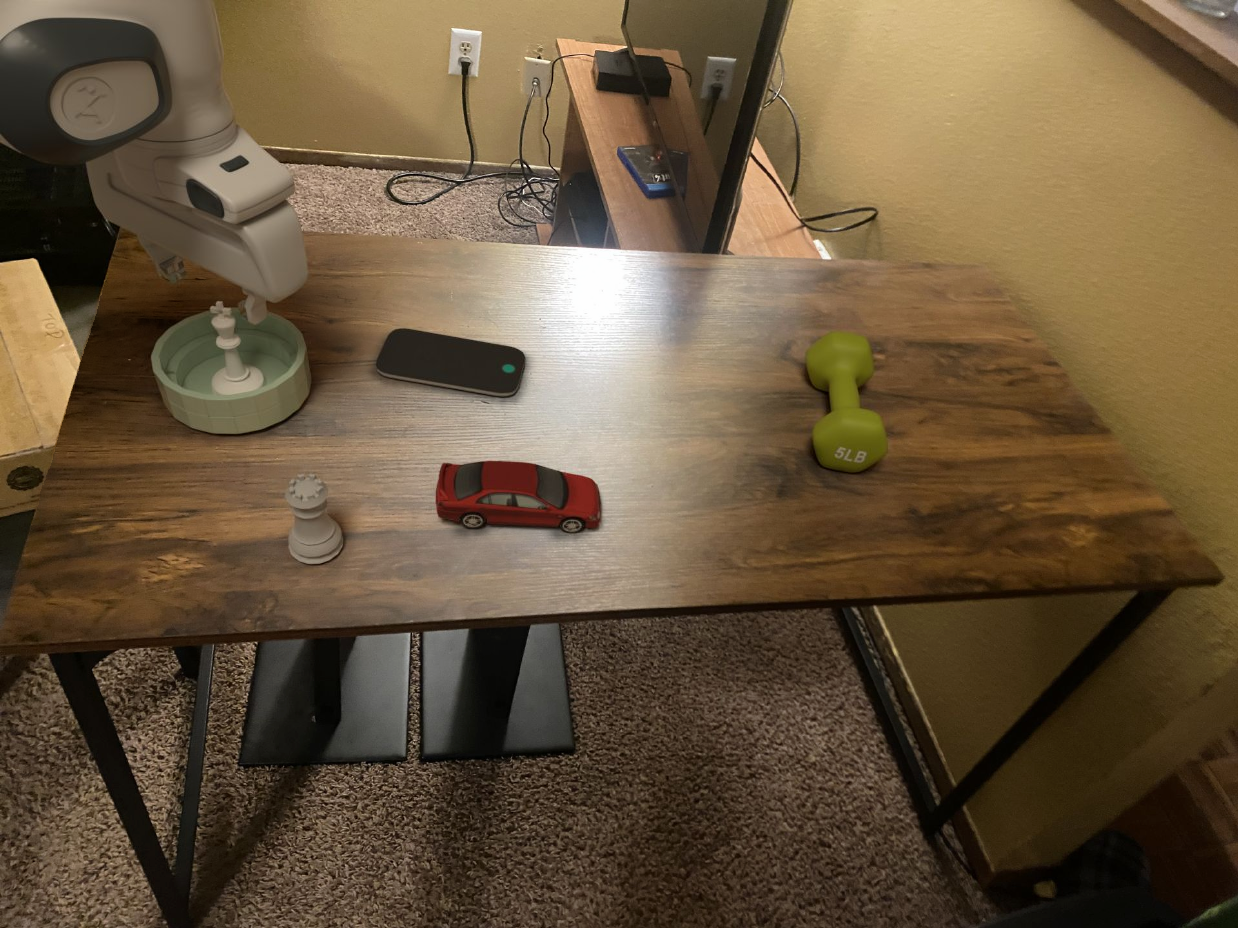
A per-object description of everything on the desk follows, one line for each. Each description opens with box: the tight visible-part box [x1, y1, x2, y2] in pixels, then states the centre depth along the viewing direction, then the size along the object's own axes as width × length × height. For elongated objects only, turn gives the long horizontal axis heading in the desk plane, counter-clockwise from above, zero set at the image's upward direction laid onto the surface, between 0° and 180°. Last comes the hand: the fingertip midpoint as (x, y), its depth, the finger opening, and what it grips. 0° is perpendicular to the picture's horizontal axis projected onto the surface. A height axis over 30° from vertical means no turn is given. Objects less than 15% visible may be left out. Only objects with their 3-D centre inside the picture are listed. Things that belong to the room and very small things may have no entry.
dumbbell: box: [804, 330, 889, 473], centre depth 90 cm, size 16×8×7 cm, turn 174°
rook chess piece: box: [284, 473, 344, 565], centre depth 69 cm, size 4×4×8 cm
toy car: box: [435, 460, 602, 534], centre depth 76 cm, size 6×15×5 cm, turn 91°
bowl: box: [150, 306, 312, 435], centre depth 81 cm, size 13×13×5 cm
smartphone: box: [375, 327, 526, 398], centre depth 89 cm, size 8×1×15 cm
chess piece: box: [209, 300, 266, 395], centre depth 79 cm, size 5×5×10 cm
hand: (213, 298), depth 74 cm, fingers open, 8 cm apart
